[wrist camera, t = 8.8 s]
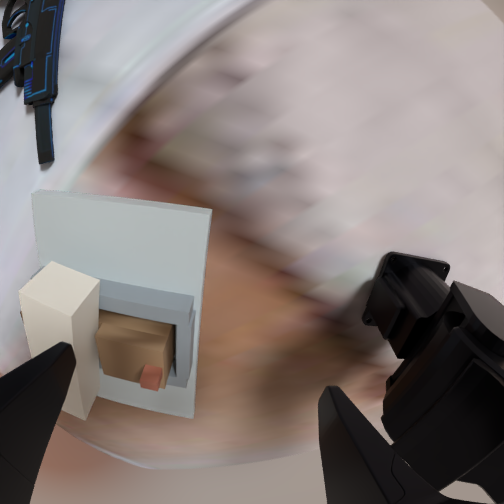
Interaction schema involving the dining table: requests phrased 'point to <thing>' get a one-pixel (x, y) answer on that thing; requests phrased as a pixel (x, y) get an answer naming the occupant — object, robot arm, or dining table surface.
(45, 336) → the long cream prism
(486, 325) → the robot arm
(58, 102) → the dining table surface
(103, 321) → the brown box with tab
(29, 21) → the gun
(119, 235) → the jig board
